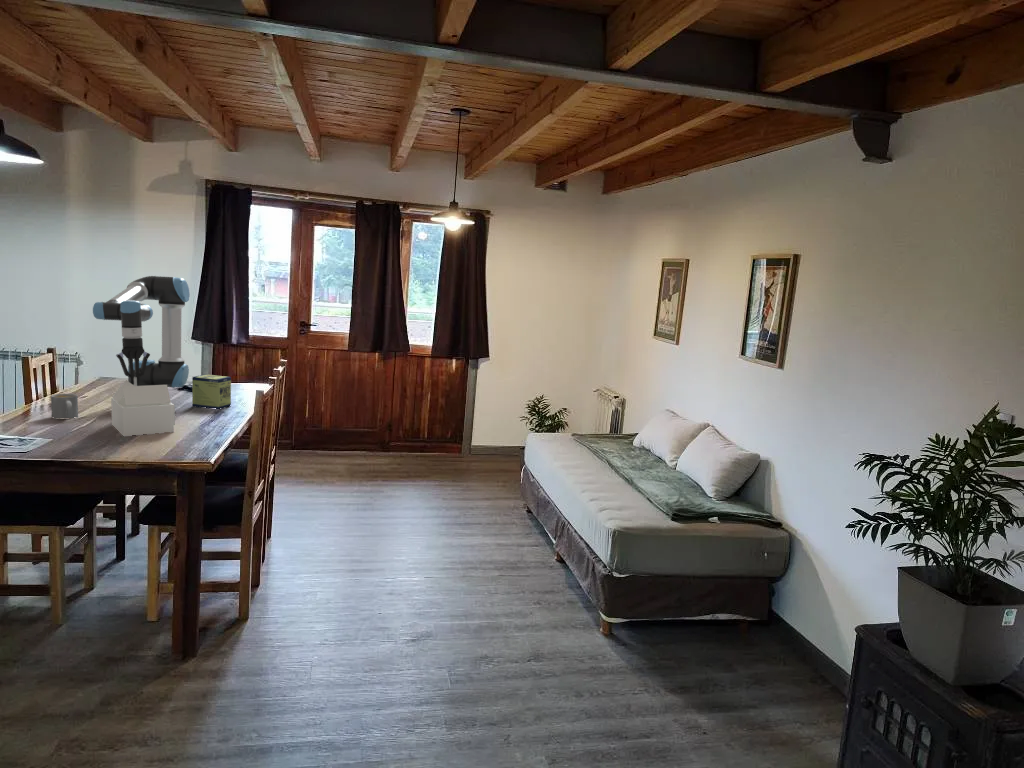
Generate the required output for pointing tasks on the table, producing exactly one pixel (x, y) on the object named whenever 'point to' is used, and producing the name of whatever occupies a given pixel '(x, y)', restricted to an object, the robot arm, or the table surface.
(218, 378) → the protein box
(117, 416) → the carton
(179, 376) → the robot arm
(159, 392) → the front flap
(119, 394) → the side flap
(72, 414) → the coffee mug
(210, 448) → the table surface
